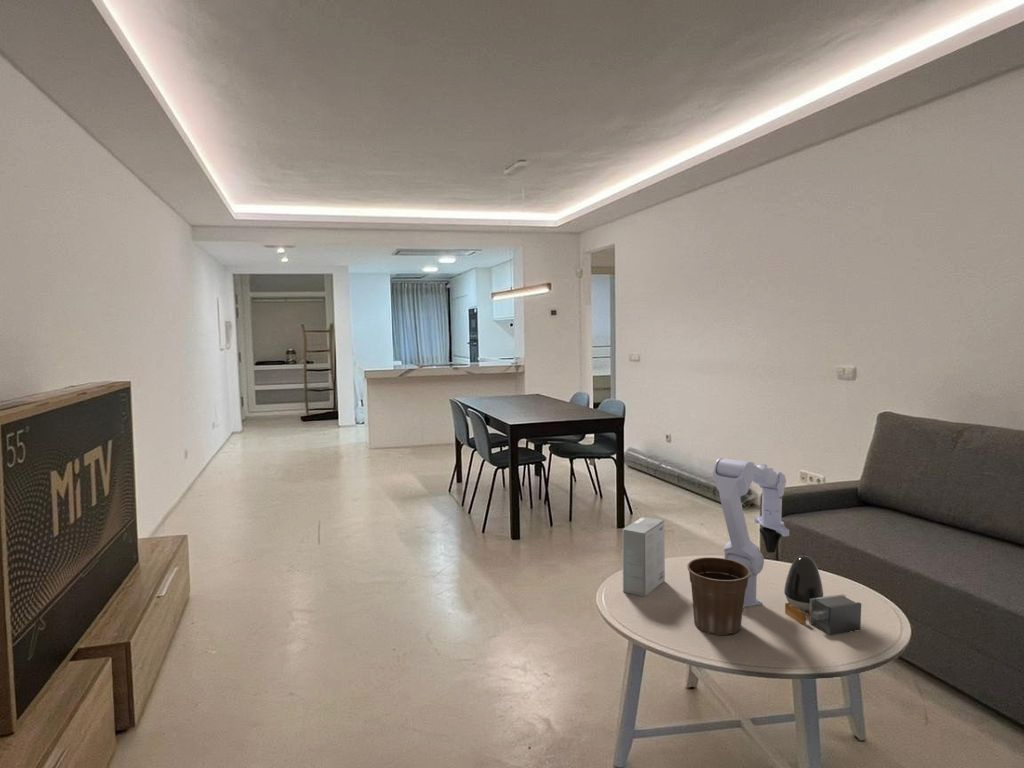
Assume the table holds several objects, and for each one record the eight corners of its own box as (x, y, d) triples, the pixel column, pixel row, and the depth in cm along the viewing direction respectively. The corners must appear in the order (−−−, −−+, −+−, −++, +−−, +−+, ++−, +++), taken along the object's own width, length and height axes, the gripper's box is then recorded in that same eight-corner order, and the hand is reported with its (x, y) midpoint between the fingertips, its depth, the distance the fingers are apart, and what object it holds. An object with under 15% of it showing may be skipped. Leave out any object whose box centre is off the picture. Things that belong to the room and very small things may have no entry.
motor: (820, 636, 168) (821, 609, 168) (785, 613, 182) (785, 588, 181) (869, 629, 172) (870, 602, 172) (831, 607, 186) (832, 582, 185)
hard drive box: (642, 575, 211) (643, 516, 209) (665, 581, 206) (665, 519, 204) (621, 591, 198) (621, 528, 196) (644, 597, 194) (645, 532, 192)
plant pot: (749, 644, 165) (750, 583, 163) (683, 634, 170) (684, 575, 169) (749, 617, 180) (750, 561, 178) (689, 609, 185) (690, 554, 184)
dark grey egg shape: (821, 602, 189) (823, 552, 187) (824, 617, 179) (825, 564, 178) (783, 597, 193) (785, 548, 191) (784, 612, 183) (785, 559, 182)
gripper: (798, 514, 194) (797, 558, 195) (768, 501, 208) (767, 542, 209) (777, 516, 193) (776, 560, 194) (749, 503, 207) (748, 545, 208)
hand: (770, 551), depth 202 cm, fingers closed
